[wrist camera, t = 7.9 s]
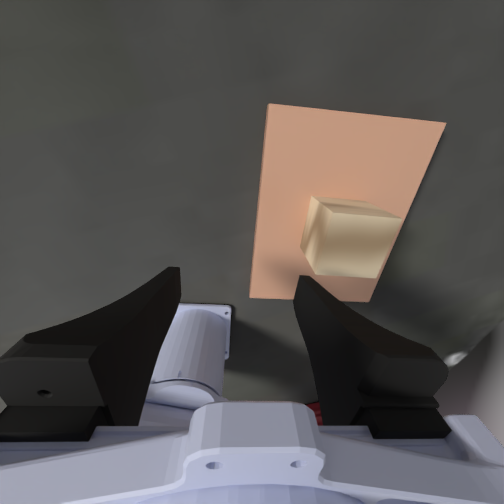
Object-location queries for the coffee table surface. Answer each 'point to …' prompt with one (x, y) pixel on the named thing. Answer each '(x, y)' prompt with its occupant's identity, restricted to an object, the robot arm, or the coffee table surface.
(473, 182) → the coffee table surface
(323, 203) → the maple cube
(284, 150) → the terracotta tile
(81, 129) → the coffee table surface
